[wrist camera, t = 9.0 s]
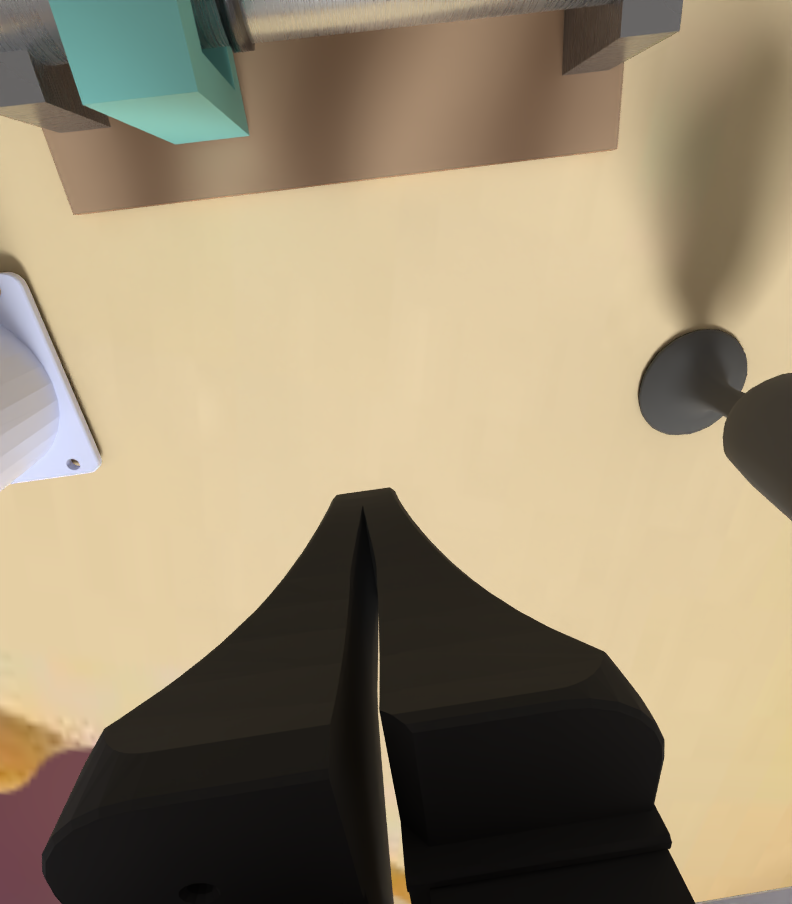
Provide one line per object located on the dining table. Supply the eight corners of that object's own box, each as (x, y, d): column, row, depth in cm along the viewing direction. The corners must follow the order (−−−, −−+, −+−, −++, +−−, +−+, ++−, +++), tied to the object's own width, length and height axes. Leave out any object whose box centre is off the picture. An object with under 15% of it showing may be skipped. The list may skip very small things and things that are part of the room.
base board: (79, 214, 17) (73, 214, 17) (-57, -161, 13) (-68, -172, 13) (611, 150, 18) (617, 149, 17) (639, -225, 14) (647, -237, 13)
